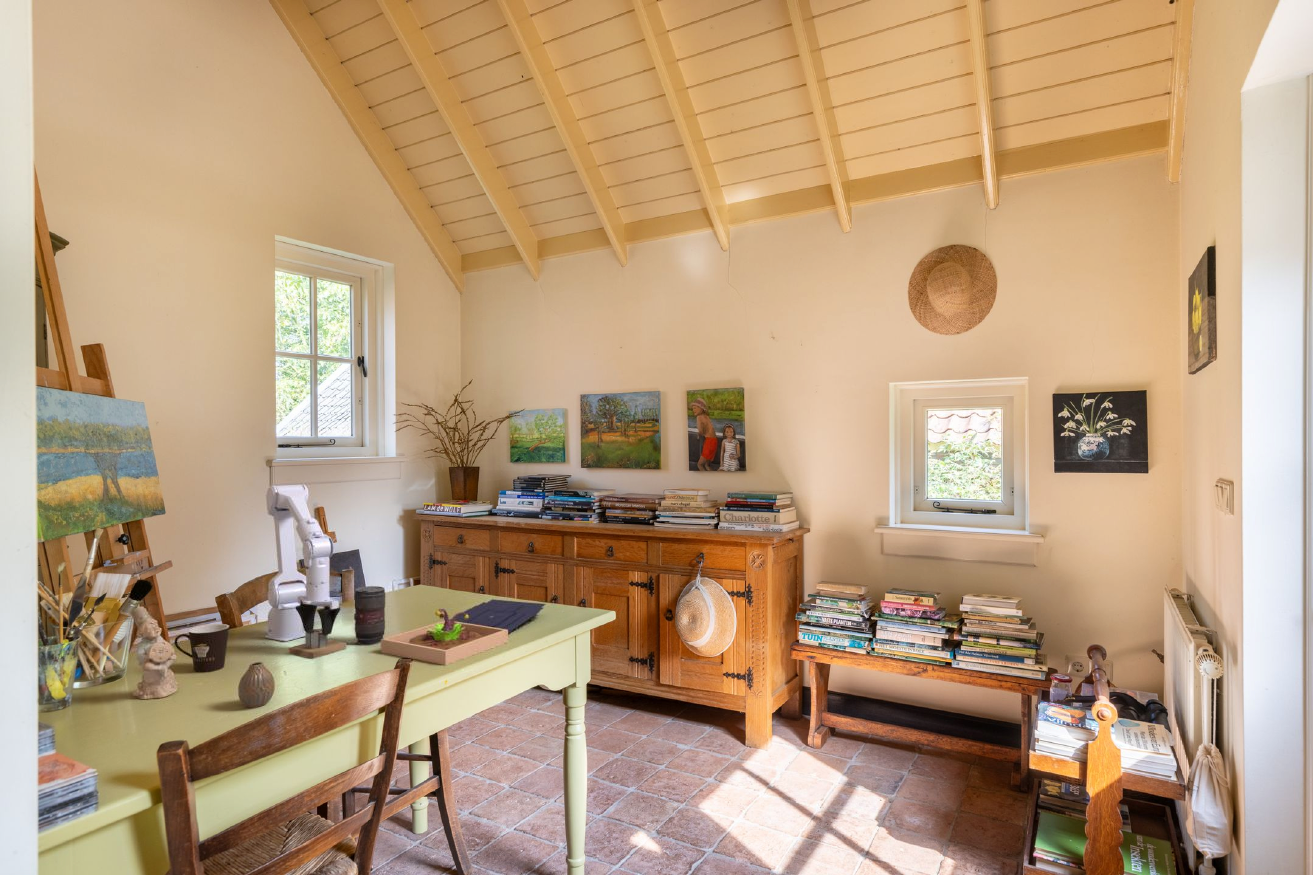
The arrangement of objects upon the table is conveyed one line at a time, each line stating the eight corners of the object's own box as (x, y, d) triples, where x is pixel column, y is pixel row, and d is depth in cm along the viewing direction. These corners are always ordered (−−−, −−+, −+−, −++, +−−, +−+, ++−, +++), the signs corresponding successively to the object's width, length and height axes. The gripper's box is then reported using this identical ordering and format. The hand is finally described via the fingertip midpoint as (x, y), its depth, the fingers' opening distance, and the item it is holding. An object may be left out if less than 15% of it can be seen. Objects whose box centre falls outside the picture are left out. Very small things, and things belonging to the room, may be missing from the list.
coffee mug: (237, 665, 183) (237, 625, 183) (206, 675, 175) (206, 634, 175) (203, 660, 187) (203, 622, 187) (171, 670, 178) (171, 630, 178)
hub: (301, 646, 194) (301, 631, 194) (319, 642, 198) (319, 627, 198) (313, 649, 191) (313, 634, 191) (331, 644, 195) (331, 629, 195)
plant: (395, 648, 198) (395, 607, 199) (460, 635, 212) (460, 596, 212) (428, 664, 184) (428, 620, 184) (496, 648, 197) (496, 607, 197)
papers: (551, 612, 234) (551, 601, 233) (500, 648, 206) (499, 636, 205) (488, 606, 242) (487, 596, 242) (430, 640, 214) (429, 628, 214)
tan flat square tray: (381, 652, 193) (381, 639, 193) (446, 631, 214) (446, 620, 214) (445, 665, 182) (445, 651, 182) (507, 642, 202) (507, 629, 202)
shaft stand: (289, 653, 193) (289, 632, 193) (322, 643, 202) (322, 624, 202) (313, 658, 188) (313, 637, 188) (346, 648, 197) (346, 628, 197)
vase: (247, 699, 158) (247, 659, 158) (280, 698, 159) (280, 658, 159) (231, 710, 151) (231, 668, 152) (266, 709, 152) (266, 667, 152)
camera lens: (373, 646, 199) (372, 592, 198) (348, 644, 201) (348, 590, 201) (391, 638, 206) (391, 586, 206) (367, 636, 209) (367, 584, 208)
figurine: (123, 697, 160) (123, 607, 160) (163, 685, 167) (163, 599, 168) (148, 703, 156) (148, 610, 156) (187, 691, 164) (187, 602, 164)
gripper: (287, 582, 195) (287, 632, 195) (322, 587, 188) (322, 639, 188) (310, 577, 201) (310, 626, 201) (345, 582, 194) (345, 633, 194)
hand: (317, 632), depth 195 cm, fingers open, 7 cm apart
